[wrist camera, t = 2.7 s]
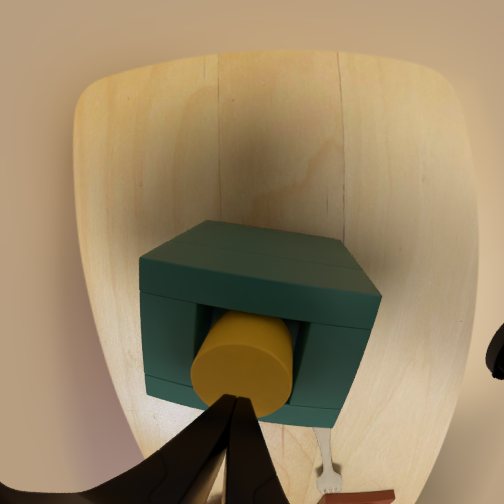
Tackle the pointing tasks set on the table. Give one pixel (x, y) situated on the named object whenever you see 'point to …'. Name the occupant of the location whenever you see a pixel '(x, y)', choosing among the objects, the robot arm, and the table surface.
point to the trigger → (245, 361)
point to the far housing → (359, 498)
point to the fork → (326, 463)
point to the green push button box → (257, 310)
